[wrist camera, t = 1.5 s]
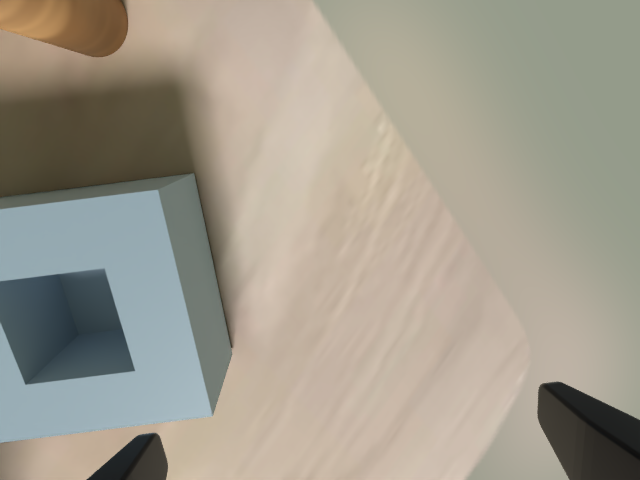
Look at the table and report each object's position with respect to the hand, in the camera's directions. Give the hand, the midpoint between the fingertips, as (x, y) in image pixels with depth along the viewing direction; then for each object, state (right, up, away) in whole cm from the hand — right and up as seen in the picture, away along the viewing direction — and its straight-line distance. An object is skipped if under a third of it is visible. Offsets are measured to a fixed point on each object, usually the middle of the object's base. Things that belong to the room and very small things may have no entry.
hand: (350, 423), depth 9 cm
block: (-11, +2, +12) cm, 16 cm away
